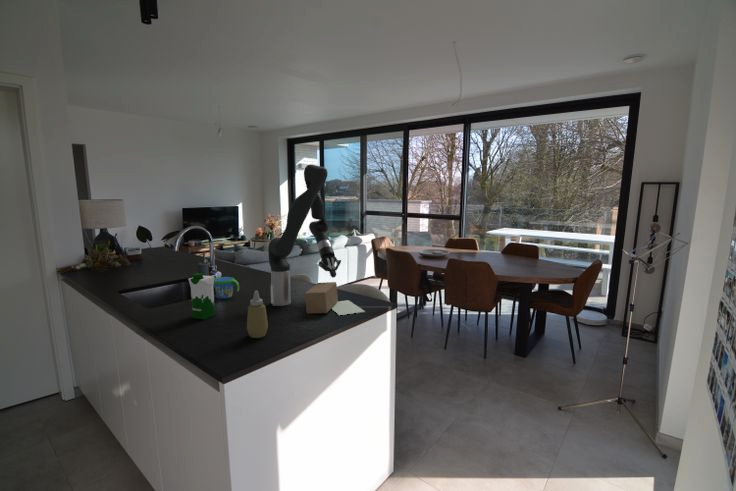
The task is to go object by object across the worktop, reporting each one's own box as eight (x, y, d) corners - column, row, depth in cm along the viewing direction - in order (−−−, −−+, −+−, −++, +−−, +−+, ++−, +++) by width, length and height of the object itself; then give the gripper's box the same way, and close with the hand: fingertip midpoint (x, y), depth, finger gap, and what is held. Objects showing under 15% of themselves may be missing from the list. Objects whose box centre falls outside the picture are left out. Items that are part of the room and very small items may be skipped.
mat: (339, 315, 167) (339, 315, 167) (324, 304, 185) (324, 303, 185) (365, 312, 172) (365, 311, 172) (348, 300, 191) (348, 300, 191)
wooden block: (338, 300, 187) (327, 313, 168) (319, 301, 189) (306, 313, 170) (336, 281, 186) (325, 292, 166) (317, 282, 188) (304, 292, 168)
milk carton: (188, 318, 163) (185, 274, 160) (203, 312, 171) (201, 270, 168) (204, 320, 160) (201, 275, 157) (219, 314, 168) (216, 271, 166)
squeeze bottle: (249, 332, 147) (247, 288, 144) (270, 331, 147) (268, 288, 145) (244, 340, 139) (242, 293, 136) (266, 339, 139) (264, 293, 137)
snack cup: (243, 295, 201) (242, 277, 199) (233, 300, 190) (233, 281, 189) (215, 294, 202) (214, 276, 201) (205, 299, 192) (204, 280, 190)
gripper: (315, 246, 193) (323, 273, 184) (339, 245, 199) (347, 271, 189) (312, 254, 198) (320, 281, 189) (335, 253, 204) (344, 279, 195)
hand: (334, 276), depth 189 cm, fingers closed
